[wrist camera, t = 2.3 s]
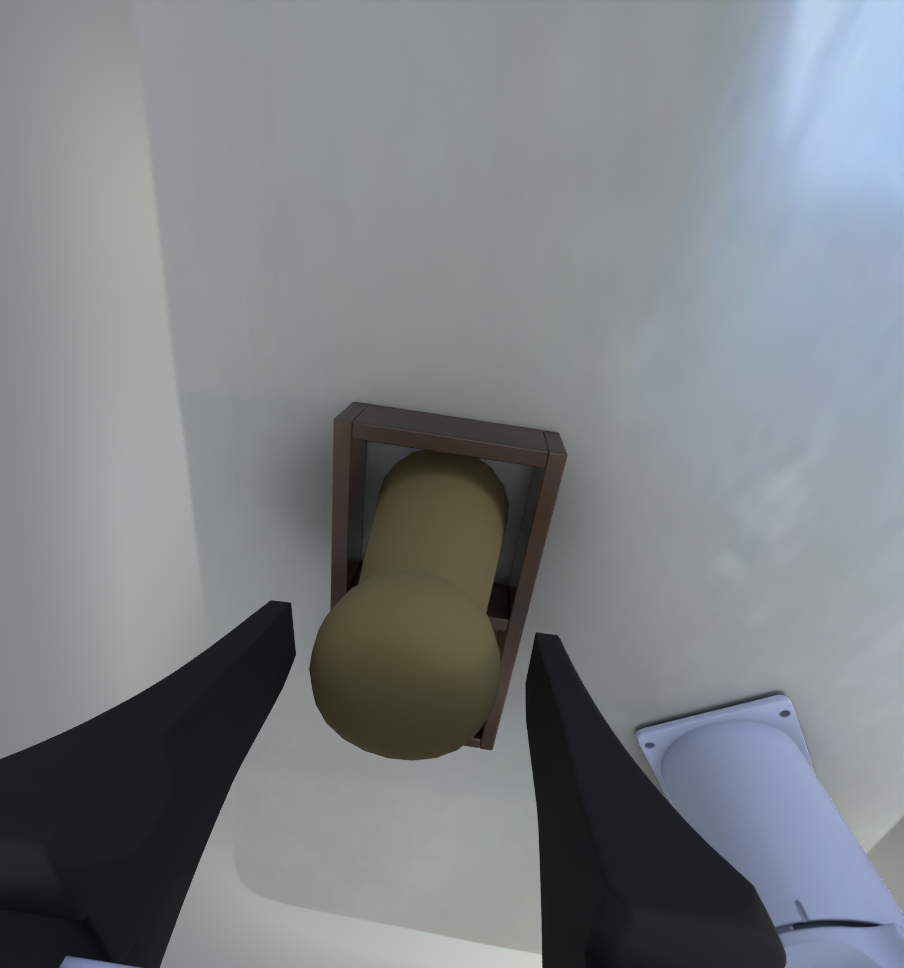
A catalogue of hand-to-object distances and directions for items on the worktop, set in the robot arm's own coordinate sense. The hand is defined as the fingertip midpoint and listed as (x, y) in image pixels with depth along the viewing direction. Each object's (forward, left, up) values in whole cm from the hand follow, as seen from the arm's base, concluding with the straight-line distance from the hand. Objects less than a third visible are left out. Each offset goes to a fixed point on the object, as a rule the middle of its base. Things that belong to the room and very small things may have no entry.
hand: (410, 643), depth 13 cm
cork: (0, 0, -9) cm, 9 cm away
